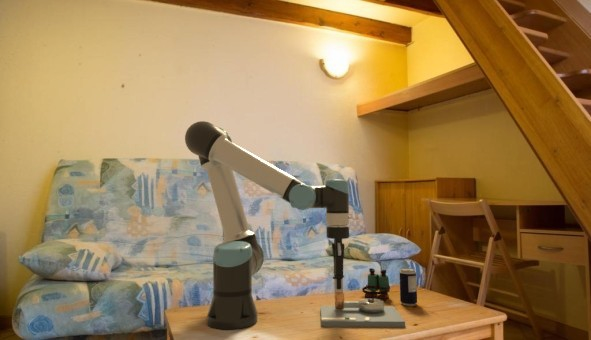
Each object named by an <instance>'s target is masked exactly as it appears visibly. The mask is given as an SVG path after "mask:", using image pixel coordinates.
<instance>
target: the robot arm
mask: <svg viewBox="0 0 591 340" xmlns="http://www.w3.org/2000/svg"><path fill="white" fill-rule="evenodd" d="M184 143H185V145H186V147H187V149H188V150H189V151H190V152H191V153H192V154H194V155H196V156H198V161H199V163H200V167H201V169H203V170H205V171H206V172H207V175H208V179H209V183H210V186H211V190H212V194H213V196H214V202H215V204H216V209H217V212H218V215H219V219H220V223H221V226H222V230H223V234H224V235H223V236H224V238H223V240H222V243H219V244H217V245H216V246H215V247H214V250H213V255H212V261H213V265H212V266H213V269H212V272H213V273H212V277H213V279H212V283H213V284H212V285H213V286H212V294H213V295H212V299H211V303H210V306H209V309H208V312H207V315H206V324H207V326H208V327H211V328H214V329H218V330H237V329H243V328H244V329H245V328H248V327H251V326H253V325H255V324H256V323H257V322H258V311H257V308H256V304H255V301H254V298H253V292H252V291H253V289H252V287H253V286H252V285H253V284H252V283H253V279H252V278H253V276H254V275H256V274H257V273H258V272H259V271H260V269H261V267H262V266H263V264H264V261H265V253H264V250H263V247H262V246H261V245H260V244H259V243H258V240H257V236H256V233H255V232H253V231H252V230H250V227H249V224H248V221H247V217H246V213H245V209H244V207H243V202H242V199H241V196H240V192H239V189H238V185H237V182H236V177H235V175H234V173H237V174H239V175H240V176H242V177H244V178H246V179H247V180H249V181H251V182H253V183H254V184H256V185H258V186H259V187H262V188H263V189H265V190H267V191H269V192H270V193H272V194H273V195H276V196H277V197H279V198H280V199H282V200H284V201H285V202H287V203H289V204H290V206H291V208H293V209H297V210H301V211H304V210H308V209H326V211H325V212H326V213H325V217H326V218H325V223H326V225H327V227H326V238H327V239H331V240H332V239H333V242H332V243H331V248H332V256H333V257H332V258H333V276H332V280H333V281H334V282H333V283H334V284H333V285H334V286H333V287H334V288H333V291H334V293H333V295H334V299H335V293H336V292H342V293H344V278H345V275H344V257H345V249H346V248H345V244H344V243H343V239H349V238H350V227H349V224H350V219H351V218H352V217H351V215H350V214H349V213H350V211H349V210H350V207H349V205H350V204H349V203H350V200H349V199H350V197H349V196H350V194H349V182H348V181H347V180H346V179H327V180H326V181H325V185H308V184H306V183H305V182H303V181H301V180H299V179H298V178H296V177H294V176H292V175H290V174H289V173H287V172H285V171H283V170H281V169H279V168H278V167H276V166H275V165H273V164H272V163H269V162H268V161H266V160H264V159H262V158H260V157H258V156H257V155H255V154H253V153H251V152H250V151H248V150H246V149H244V148H243V147H241V146H240V145H237V144H235V143H233V140H232V137H231V136H230V134H229V133H228V132H227V131H226V130H224V129H223V128H221V127H218V126H216V125H215V124H213V123H211V122H208V121H205V120H202V121H201V120H200V121H196V122H195V123H192V124H191V125H190V126H189V127H188V128H187V129H186V131H185V135H184Z"/></svg>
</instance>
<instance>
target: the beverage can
mask: <svg viewBox="0 0 591 340" xmlns="http://www.w3.org/2000/svg"><path fill="white" fill-rule="evenodd" d="M417 286H418V284H417V272H416V269H415V268H412V267H411V268H410V267H405V268H400V271H399V299H400V300H399V302H400V303H402V305H403V306H407V307H413V306H416V304H417V303H418V287H417Z"/></svg>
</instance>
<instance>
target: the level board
mask: <svg viewBox="0 0 591 340" xmlns="http://www.w3.org/2000/svg"><path fill="white" fill-rule="evenodd" d="M319 307H320V320H321V321H320V322H321V327H333V328H334V327H336V328H337V327H340V328H341V327H342V328H343V327H344V328H345V327H347V328H348V327H357V328H358V327H363V328H365V327H366V328H369V327H370V328H373V327H374V328H377V327H378V328H379V327H380V328H405V327H406V321H405V320H404V318H403V317H402V315H401V314H400V312H399V311H398V310H397V309H396V308H395V307H394V306H393V305H384V311H383V312H380V313H366V312H362V311H360V310H359V309H358V308H344V309H335V305H320V306H319Z"/></svg>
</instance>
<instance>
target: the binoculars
mask: <svg viewBox="0 0 591 340" xmlns="http://www.w3.org/2000/svg"><path fill="white" fill-rule="evenodd" d="M368 270H369V274H367V284H366V285H365V286H364V287H362V289H361V290H362V292H363V293H364V299H367V298H372V299H379V300H382V301H383V302H384V301H386V300H387V299H388V298H390V295H389V293H390V292H391V290H390V289H391V286H390V281H389V280H390V279H389V275H386V274H387V269H383V270H380V274H378V273H375V272H376V270H375V268H373V267H372V268H369V269H368ZM375 297H376V298H375Z"/></svg>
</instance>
